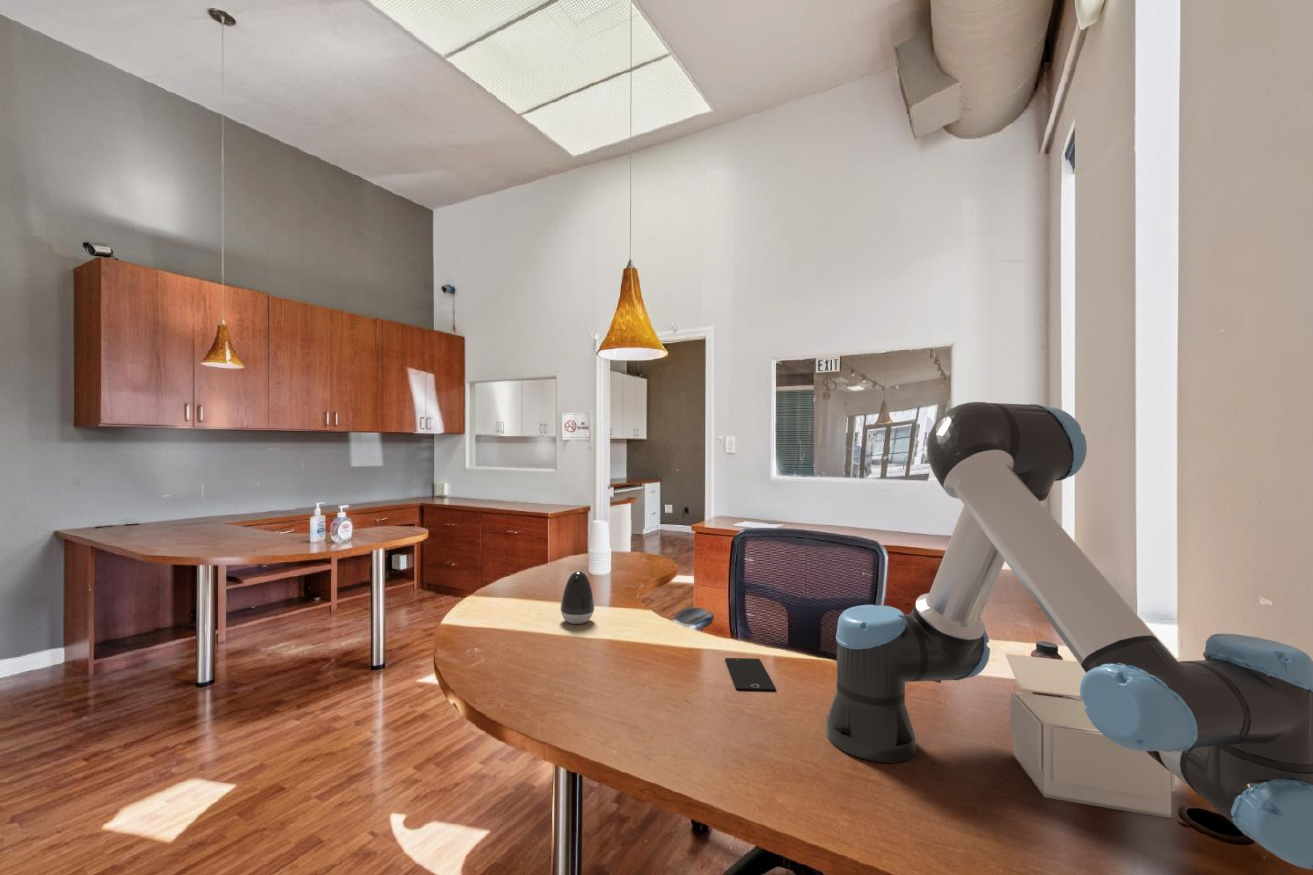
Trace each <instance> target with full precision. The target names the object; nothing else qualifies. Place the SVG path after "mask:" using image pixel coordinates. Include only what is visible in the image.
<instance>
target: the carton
mask: <svg viewBox="0 0 1313 875" xmlns="http://www.w3.org/2000/svg"><path fill="white" fill-rule="evenodd" d="M1084 708H1085V705H1084V702H1083V699H1075V698H1066V697H1062V698H1059V697H1051V696H1043V695H1036V694H1035V693H1033V694H1032V693H1027V692H1026V693H1025V692H1017V691H1014V692H1010V735H1011V736H1012V737H1013V757H1014V758H1015V759H1016V760H1017V762H1018V764H1020V766H1021V768H1022V769H1023V770H1024V771H1025V773H1026V774H1027V775H1028V777H1029V779H1030V780H1031V779H1032V780H1031V781H1032V783H1034V786H1035V787H1036V786H1037V787H1036V788H1037V789H1038V791H1039V792H1040V794H1041V795H1042V797H1044V798H1047V799H1054V800H1060V801H1065V802H1070V803H1076V804H1083V805H1088V806H1095V807H1101V808H1105V809H1111V810H1112V809H1114V810H1118V811H1124V812H1130V813H1136V814H1143V815H1148V816H1154V817H1159V818H1165V819H1172V791H1176V776H1175V775H1174V774H1173V773H1172V772H1170V771H1169V770H1167V769H1166V768H1165V767H1164V766H1163V765H1161V764H1160V763H1159V762H1158V761H1156V760H1155V759H1154V758H1153V757H1151V756H1150V755H1149V754H1148V753H1147V752H1146V751H1137V750H1131V749H1128V748H1125V747H1122V746H1120V745H1118V744H1116V743H1115V742H1113V741H1111V740H1110V739H1108V738H1107V737H1106V736H1104V735H1103V734H1102V733H1101V732H1100V731H1099V730H1098V729H1097V728H1096V727H1095V726H1094V725H1093V723H1092V722H1091V721H1090V719H1089V717H1088V716H1087V714H1086V712H1085V710H1084Z"/></svg>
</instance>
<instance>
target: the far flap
mask: <svg viewBox="0 0 1313 875" xmlns="http://www.w3.org/2000/svg"><path fill="white" fill-rule="evenodd" d="M1005 657H1006V661H1007V662H1008V665H1009V667H1010V669H1011V671H1012V673H1013V676H1014V679H1015V681H1016V684H1017V686H1018V689H1019V690H1020V691H1024V692H1031V693H1033V692H1037V693H1046V694H1054V695H1062V696H1063V697H1070V698H1071V697H1072V698H1079V699H1082V698H1081V697H1080V686H1081V681H1082V666H1081V665H1080V664H1079V662H1078V661H1077V660H1066V659H1063V660H1058V659H1049V658H1040V657H1031V655H1019V654H1011V653H1005Z"/></svg>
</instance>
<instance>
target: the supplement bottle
mask: <svg viewBox="0 0 1313 875" xmlns="http://www.w3.org/2000/svg"><path fill="white" fill-rule="evenodd" d="M1030 656H1031V657H1040V658H1049V659H1058V660H1064V659H1063V658H1064V657H1063V656H1062V655H1060V654H1059V645H1058V644H1056V643H1054V642H1051V641H1046V640H1037V641H1036V642H1035V649H1033V650H1032V651H1031V652H1030ZM1032 693H1033V694H1035V695H1043V696H1051V697H1059V698H1064V696H1062V695H1054V694H1046V693H1037V692H1032Z"/></svg>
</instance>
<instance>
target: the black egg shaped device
mask: <svg viewBox="0 0 1313 875" xmlns="http://www.w3.org/2000/svg"><path fill="white" fill-rule="evenodd" d="M560 612H561V616H562V618H563V619H564V621H565V622H567V623H569V624H571V625H582V624H583V625H584V624H585V623H587V622H588V621H590V619H591V618H592V617H593V614H594V612H595V600H594V593H593V590H592V585H591V582H590V579H589V578H588V576H587V574H586V573H585V572H583V571H579V570H577V571H575V572H573V573H572V574H570V576H569V578H568V580H567V582H566V584H565V587H564V590H563V594H562V597H561V603H560Z"/></svg>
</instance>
